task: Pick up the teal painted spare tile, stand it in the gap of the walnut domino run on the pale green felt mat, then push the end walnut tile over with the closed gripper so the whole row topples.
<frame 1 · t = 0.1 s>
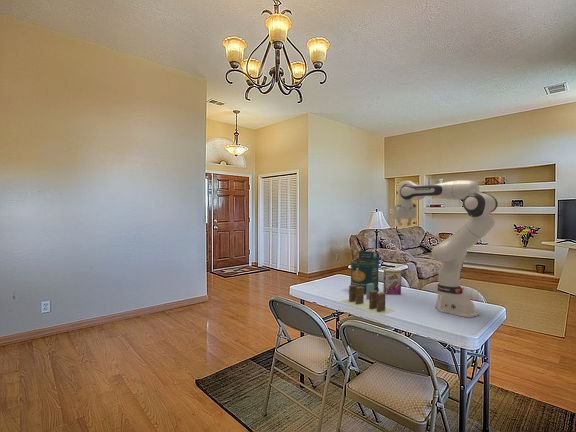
hand: (404, 225, 206), 48 cm above the table, fingers open, 8 cm apart
tile 4: (359, 303, 189), resting on felt mat
felt mat: (366, 306, 185), on the table
candy bar box: (392, 293, 215), on the table
tile 1: (380, 310, 176), resting on felt mat
tile 5: (353, 301, 194), resting on felt mat
teal tile: (370, 299, 200), on the table
tile 2: (373, 308, 180), resting on felt mat
donation box: (363, 292, 219), on the table
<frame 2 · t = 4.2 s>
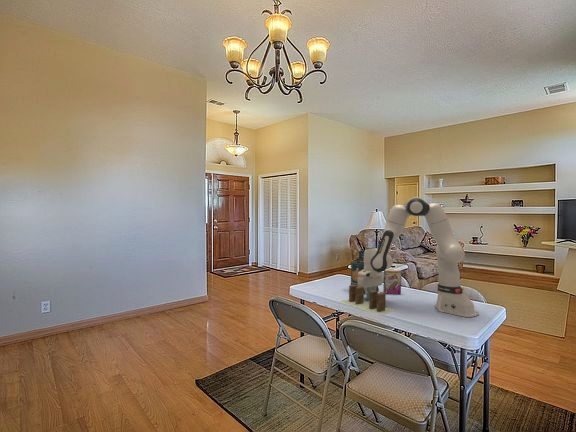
hand: (370, 293, 200), 4 cm above the table, fingers closed on teal tile, 5 cm apart
teal tile: (370, 299, 200), on the table, touching gripper
everything else where it was.
when the fingers open (4 cm above the table, at t = 9.8 s): teal tile stays where it is, resting on felt mat.
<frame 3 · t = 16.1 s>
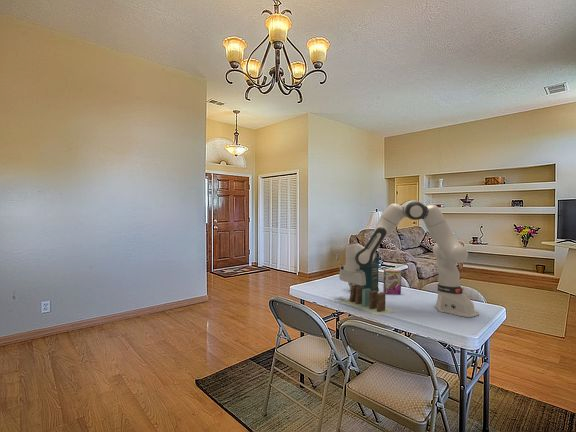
hand: (352, 289, 195), 7 cm above the table, fingers closed
tile 5: (353, 300, 194), point 1 cm above the table, tilted 13°, touching felt mat, gripper
teal tile: (366, 305, 185), resting on felt mat
everything else where it was.
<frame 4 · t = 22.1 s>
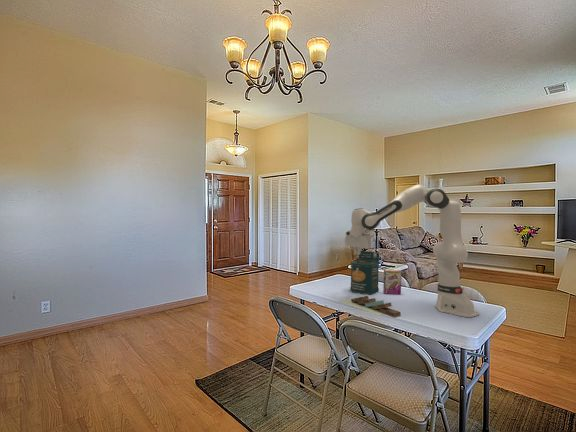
hand: (357, 254, 201), 29 cm above the table, fingers closed
tile 4: (360, 302, 189), point 1 cm above the table, tilted 69°, touching felt mat, teal tile, tile 5
tile 1: (382, 309, 175), point 1 cm above the table, tilted 90°, touching felt mat, tile 2
tile 5: (354, 300, 193), point 1 cm above the table, tilted 68°, touching felt mat, tile 4
teal tile: (368, 304, 184), point 1 cm above the table, tilted 68°, touching felt mat, tile 2, tile 4
tile 2: (375, 307, 179), point 1 cm above the table, tilted 68°, touching felt mat, teal tile, tile 1
everything else where it was.
at the end: tile 1 tilted 90°; teal tile tilted 68°; the gripper is holding nothing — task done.
